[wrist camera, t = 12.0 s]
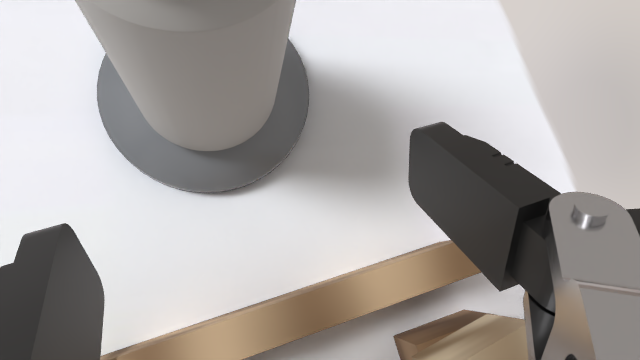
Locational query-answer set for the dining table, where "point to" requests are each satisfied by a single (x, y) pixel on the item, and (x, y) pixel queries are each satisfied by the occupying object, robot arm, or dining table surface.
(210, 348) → the frame
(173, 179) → the slate coaster
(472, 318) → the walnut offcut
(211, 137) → the beverage can
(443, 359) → the birch offcut
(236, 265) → the dining table surface
